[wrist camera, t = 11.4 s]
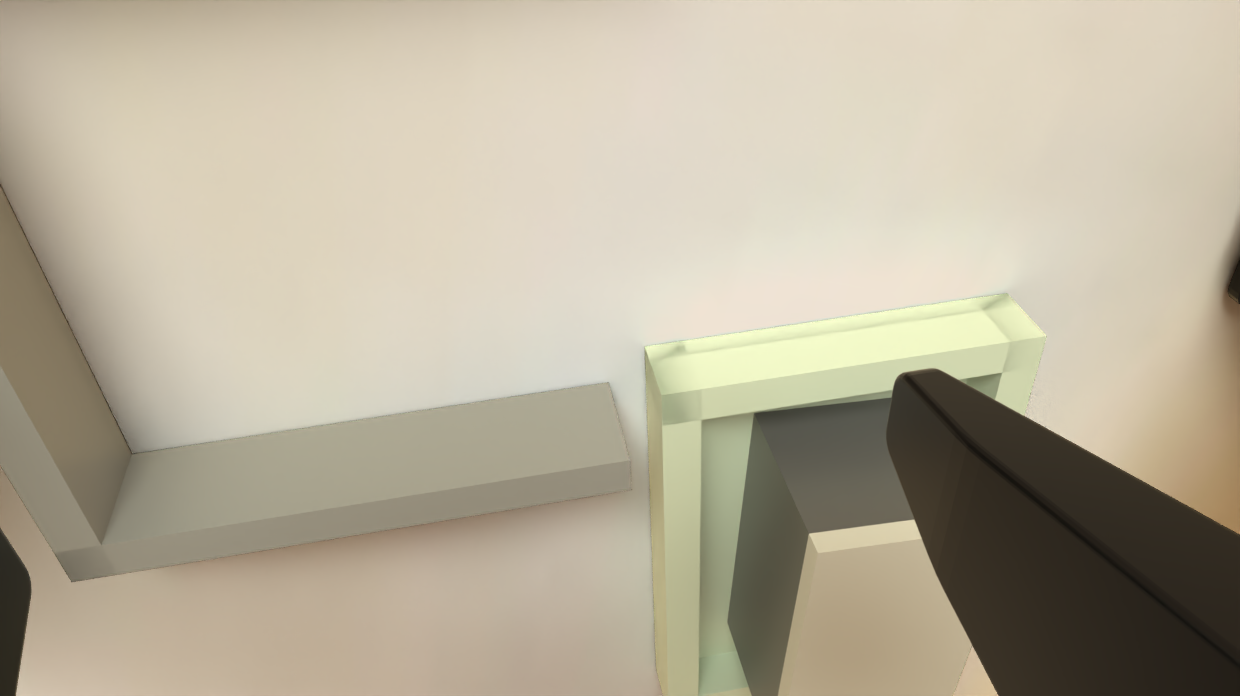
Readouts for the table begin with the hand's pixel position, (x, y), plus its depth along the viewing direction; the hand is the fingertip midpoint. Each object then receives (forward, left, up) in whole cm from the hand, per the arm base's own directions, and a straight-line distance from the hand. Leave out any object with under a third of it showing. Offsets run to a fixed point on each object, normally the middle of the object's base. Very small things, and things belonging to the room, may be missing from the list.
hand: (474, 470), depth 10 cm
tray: (-9, +15, -12) cm, 21 cm away
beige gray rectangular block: (-9, +15, -11) cm, 21 cm away
